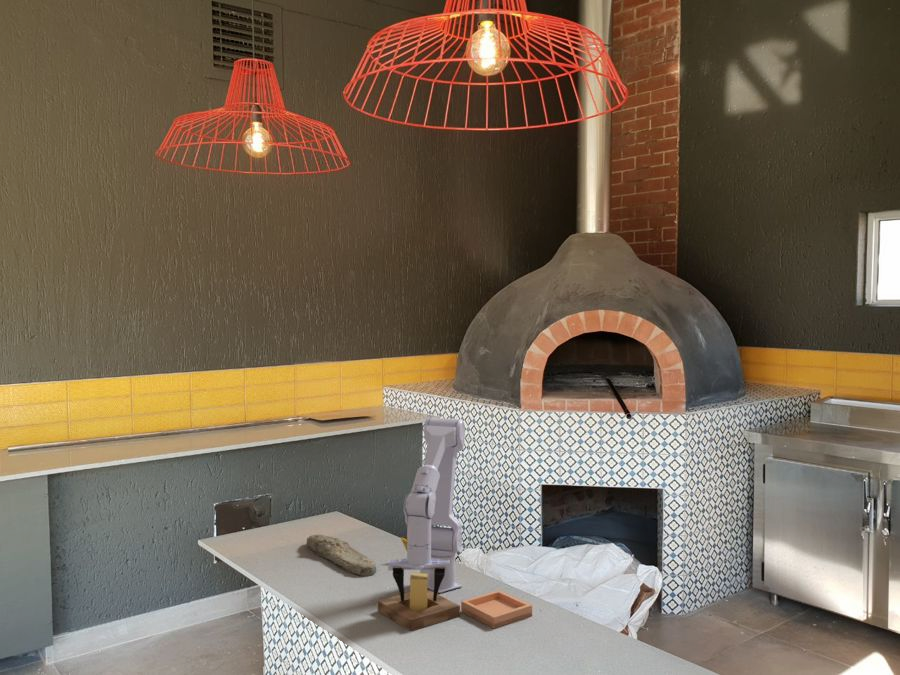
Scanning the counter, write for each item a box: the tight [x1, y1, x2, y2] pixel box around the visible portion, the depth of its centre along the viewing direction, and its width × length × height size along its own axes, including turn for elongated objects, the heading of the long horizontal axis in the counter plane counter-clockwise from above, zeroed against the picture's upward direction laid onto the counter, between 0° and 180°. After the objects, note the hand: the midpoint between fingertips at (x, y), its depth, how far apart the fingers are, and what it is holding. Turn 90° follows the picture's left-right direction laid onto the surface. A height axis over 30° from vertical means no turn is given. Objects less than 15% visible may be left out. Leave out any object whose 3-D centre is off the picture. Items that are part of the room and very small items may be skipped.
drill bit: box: [400, 536, 407, 551], centre depth 216 cm, size 5×5×10 cm
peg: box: [409, 572, 428, 611], centre depth 179 cm, size 4×4×9 cm
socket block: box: [377, 588, 461, 632], centre depth 179 cm, size 14×14×2 cm
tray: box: [460, 590, 533, 629], centre depth 179 cm, size 12×12×2 cm
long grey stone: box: [306, 534, 377, 577], centre depth 218 cm, size 35×5×10 cm
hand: (418, 599), depth 179 cm, fingers open, 7 cm apart
